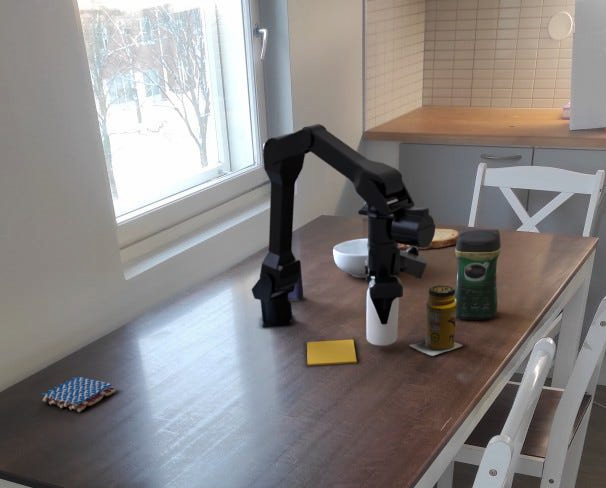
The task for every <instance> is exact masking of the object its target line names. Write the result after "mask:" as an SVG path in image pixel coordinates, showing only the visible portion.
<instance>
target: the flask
mask: <svg viewBox="0 0 606 488" xmlns="http://www.w3.org/2000/svg"><path fill="white" fill-rule="evenodd" d="M302 275H303V274H302V263H301V264H300V278H298V281H297V283H296V284H295V289H294V292H290V293H288V299H291V301H297V302H298V301H303V300H304V286H303V276H302Z"/></svg>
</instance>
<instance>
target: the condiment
mask: <svg viewBox="0 0 606 488" xmlns="http://www.w3.org/2000/svg"><path fill="white" fill-rule="evenodd" d="M455 292H456V288H454V287H453V286H452V285H446V284H439V285H434V286H431V287H430V288H429V290H428V296H427V298H428V300H427V301H426V303H425V304H426V305H425V306H426V307H425V339H424V340H421V341H419V342H416V343H412V344H409V346H410V347H412V348H413V349H415V350H417V351H419V352H421V353H423V354H426V355H429V356H431V357H434V356H436V355H439V354H442V353H445V352H449V351H450V352H451V351H452V350H455V349H458V348H461V347H463V346H464V345H463V344H461V343H458V342H455V340H456V322H457V321H456V320H457V319H456V318H457V317H456V301H455Z"/></svg>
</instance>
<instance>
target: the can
mask: <svg viewBox="0 0 606 488" xmlns="http://www.w3.org/2000/svg"><path fill="white" fill-rule="evenodd" d="M399 305H400V297H398V298H396V299H394V300H393V302H392V305H391V309H390V313H389V318H388V322H387V324H383V325H382V324H381V322H380V319H379V317H378V314H377V312H376V309H375V307H374V305H373V302H372V300H371V298H370V294H369V287H368V288H367V291H366V312H365V313H366V319H365V320H366V324H365V325H366V326H365V327H366V329H365V330H366V331H365V334H366V336H365V338H366V340H367V342H368V343H369V344H370V345H372V346H375V347H388V346H391V345H393V344H395V343H396V342H397V340H398V334H399V333H398V332H399V310H400V309H399Z"/></svg>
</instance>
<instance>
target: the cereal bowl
mask: <svg viewBox="0 0 606 488" xmlns="http://www.w3.org/2000/svg"><path fill="white" fill-rule="evenodd" d="M367 243H368V238H358V239H351V240H346V241H342V242H339V243H337V244H336V245H334V246H333V249H332V252H333V254H332V255H333V260H334V263H335V265H336V266H337V267H338V268H339V270H341V271H343V272H344V273H347V274H350V275H351V276H352V277H354V278H359V279H366V276H367V275H369V273H368V274H365V271H364V261H365V260H366V259H367V258H368V249H367ZM398 248H399V246H398Z"/></svg>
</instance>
